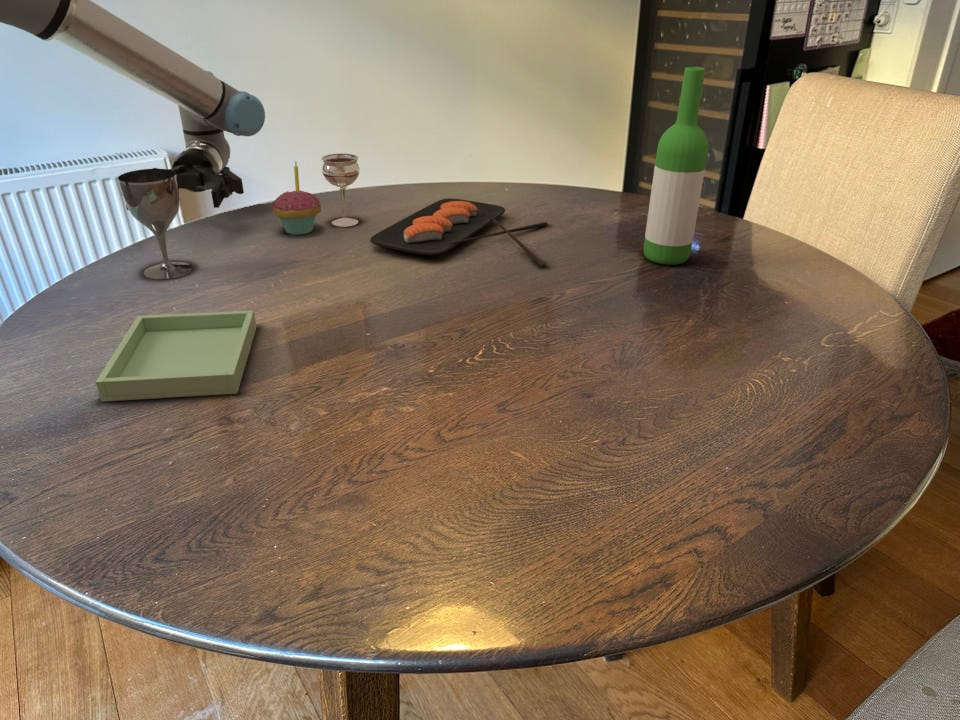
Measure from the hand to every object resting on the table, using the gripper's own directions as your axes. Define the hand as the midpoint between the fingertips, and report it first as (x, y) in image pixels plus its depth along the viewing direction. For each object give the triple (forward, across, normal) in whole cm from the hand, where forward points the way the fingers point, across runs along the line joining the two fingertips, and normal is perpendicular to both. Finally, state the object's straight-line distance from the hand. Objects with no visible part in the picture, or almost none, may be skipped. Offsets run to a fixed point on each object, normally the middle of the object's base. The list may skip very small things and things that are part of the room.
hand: (171, 200), depth 114 cm
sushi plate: (0, +51, +9) cm, 52 cm away
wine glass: (+9, 0, +9) cm, 13 cm away
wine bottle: (+12, +81, +9) cm, 82 cm away
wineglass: (-12, +27, +9) cm, 31 cm away
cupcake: (-8, +19, +9) cm, 22 cm away
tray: (+39, +9, +8) cm, 41 cm away
